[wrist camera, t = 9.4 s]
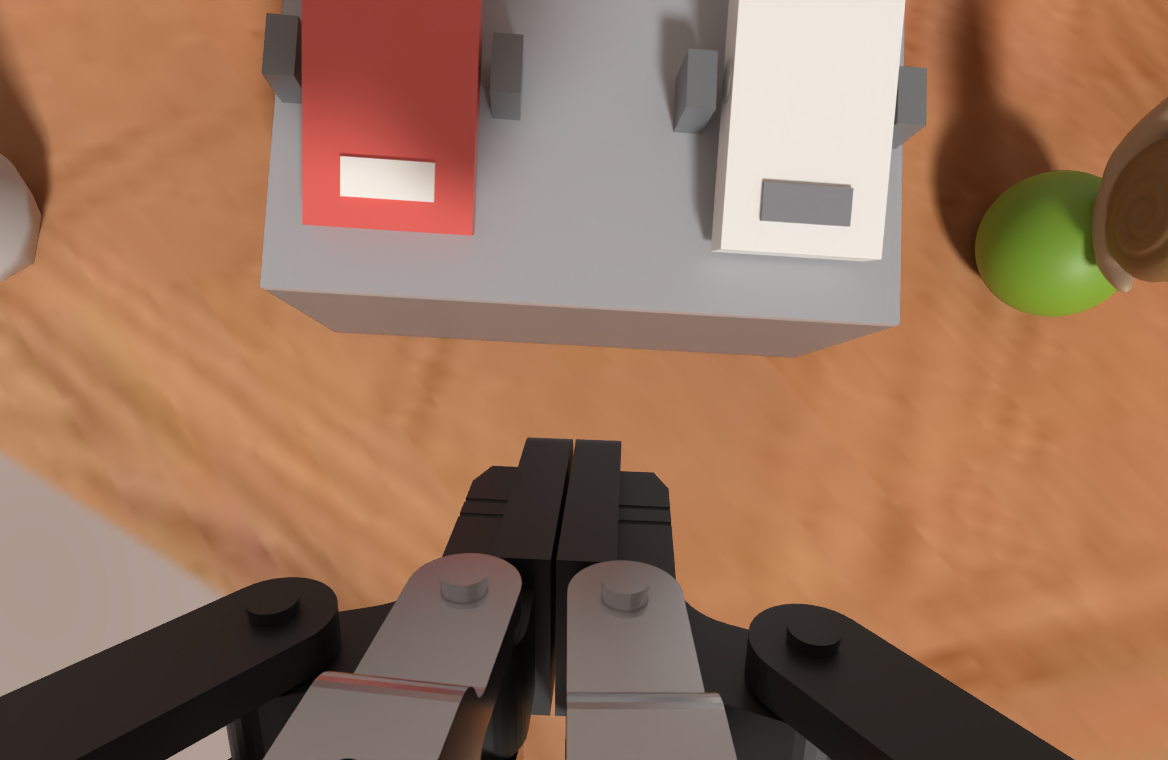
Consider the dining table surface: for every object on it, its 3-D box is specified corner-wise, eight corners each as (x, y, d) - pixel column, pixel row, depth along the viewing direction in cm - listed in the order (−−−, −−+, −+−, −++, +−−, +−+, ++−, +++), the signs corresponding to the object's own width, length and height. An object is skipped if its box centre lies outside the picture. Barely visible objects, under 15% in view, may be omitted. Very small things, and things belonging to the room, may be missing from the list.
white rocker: (893, -70, 22) (916, -94, 21) (862, 261, 23) (883, 259, 22) (734, -85, 22) (748, -110, 21) (710, 251, 23) (722, 248, 22)
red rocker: (488, -121, 21) (485, -142, 20) (475, 234, 23) (471, 235, 22) (313, -137, 21) (299, -161, 19) (314, 223, 23) (300, 224, 21)
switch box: (802, 66, 34) (935, -112, 23) (795, 357, 33) (930, 315, 22) (356, 29, 32) (274, -178, 21) (334, 331, 31) (237, 273, 20)
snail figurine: (1075, 178, 34) (1375, 35, 22) (1073, 330, 34) (1378, 268, 22) (950, 166, 34) (1186, 14, 22) (946, 320, 33) (1185, 251, 21)
